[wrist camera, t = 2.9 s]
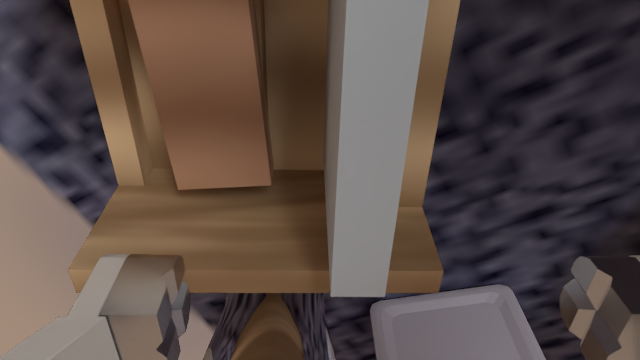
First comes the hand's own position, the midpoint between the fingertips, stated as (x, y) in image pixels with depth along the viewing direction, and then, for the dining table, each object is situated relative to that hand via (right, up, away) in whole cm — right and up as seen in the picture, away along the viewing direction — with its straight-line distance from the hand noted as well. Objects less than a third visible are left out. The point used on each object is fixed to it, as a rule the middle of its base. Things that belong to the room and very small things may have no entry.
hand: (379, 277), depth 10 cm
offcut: (-6, +6, +9) cm, 12 cm away
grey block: (0, +7, +10) cm, 13 cm away
